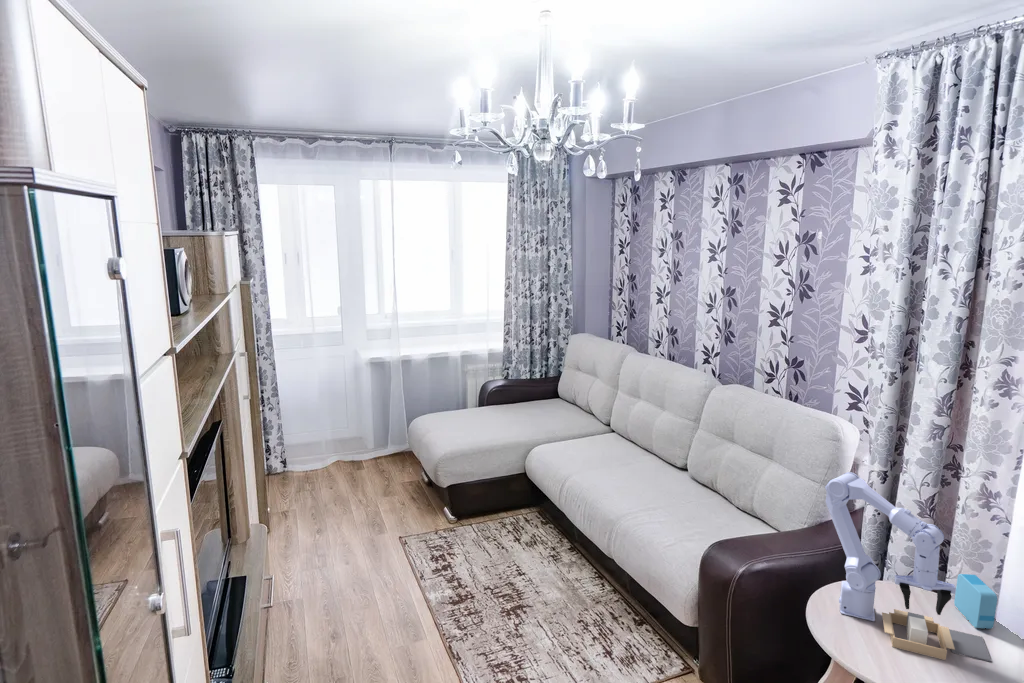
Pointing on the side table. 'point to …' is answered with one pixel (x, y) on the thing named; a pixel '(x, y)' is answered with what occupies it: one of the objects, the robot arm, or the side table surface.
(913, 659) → the side table surface
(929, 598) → the side table surface
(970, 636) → the mat
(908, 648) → the carton
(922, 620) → the capped box
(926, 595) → the side table surface
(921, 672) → the side table surface
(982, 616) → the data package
